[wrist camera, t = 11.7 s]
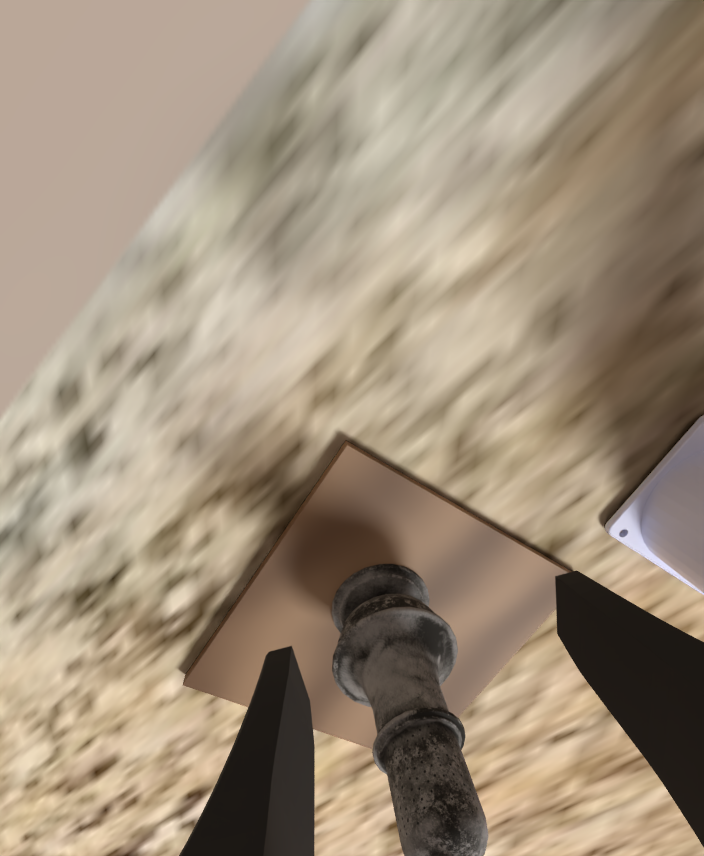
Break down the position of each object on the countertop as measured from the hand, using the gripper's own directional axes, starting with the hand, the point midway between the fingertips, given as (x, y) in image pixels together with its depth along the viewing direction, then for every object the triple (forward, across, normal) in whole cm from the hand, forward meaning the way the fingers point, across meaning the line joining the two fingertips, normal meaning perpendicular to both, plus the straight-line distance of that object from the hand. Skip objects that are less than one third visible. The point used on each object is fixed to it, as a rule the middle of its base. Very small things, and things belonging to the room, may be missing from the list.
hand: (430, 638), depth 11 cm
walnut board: (+10, +1, +9) cm, 14 cm away
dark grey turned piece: (+10, +1, +8) cm, 13 cm away
